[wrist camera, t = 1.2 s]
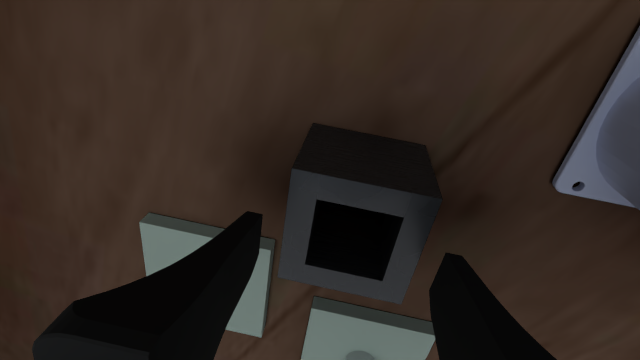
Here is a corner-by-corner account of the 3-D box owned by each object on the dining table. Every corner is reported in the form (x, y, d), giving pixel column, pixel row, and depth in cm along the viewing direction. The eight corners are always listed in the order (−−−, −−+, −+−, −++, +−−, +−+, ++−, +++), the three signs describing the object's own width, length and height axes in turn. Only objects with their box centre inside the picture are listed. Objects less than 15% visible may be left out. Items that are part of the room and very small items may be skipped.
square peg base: (275, 239, 21) (252, 296, 17) (265, 325, 25) (244, 387, 21) (149, 212, 21) (98, 262, 18) (158, 301, 25) (119, 358, 22)
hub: (425, 145, 17) (442, 199, 13) (395, 234, 20) (401, 304, 15) (312, 123, 17) (291, 168, 13) (298, 214, 20) (277, 277, 16)
